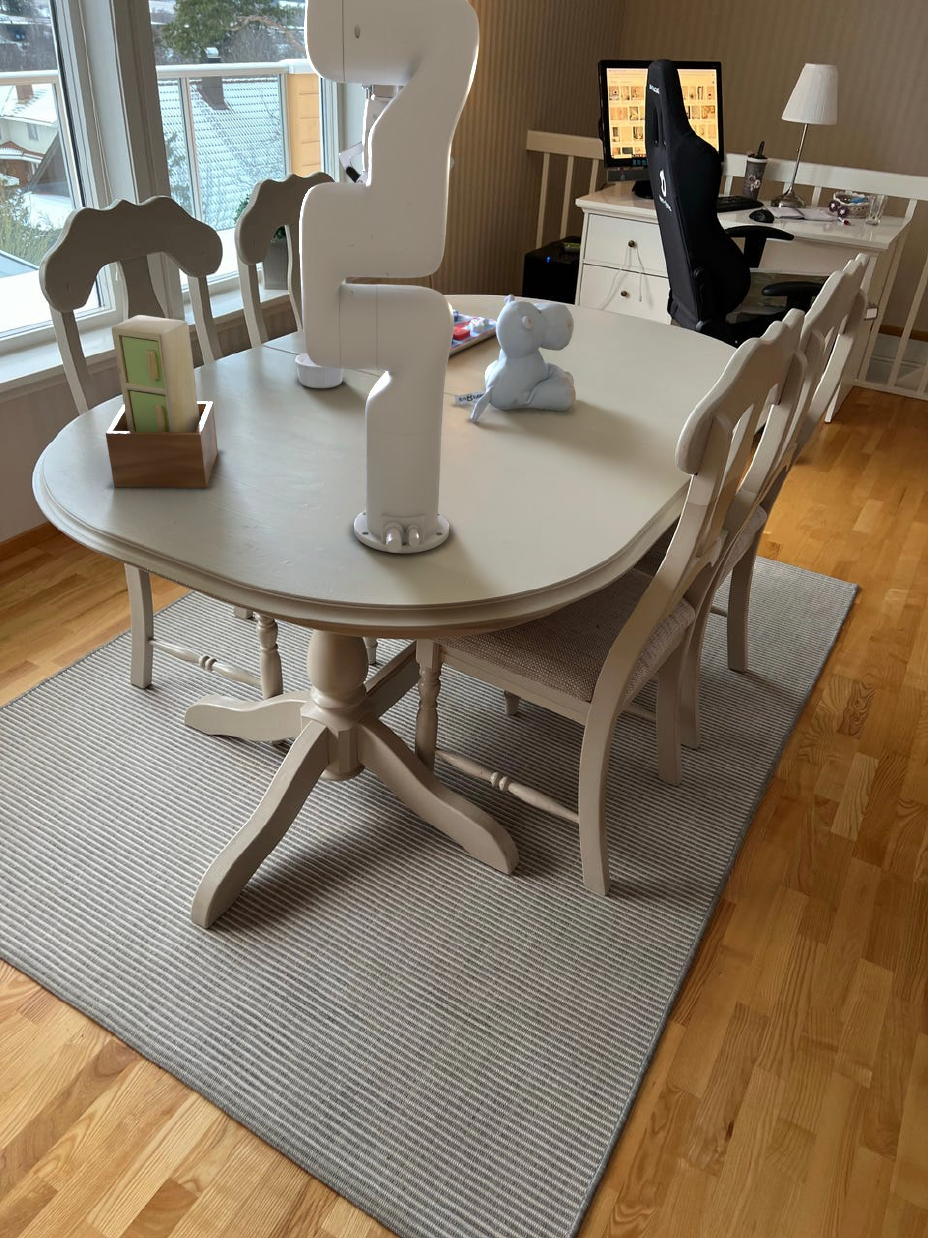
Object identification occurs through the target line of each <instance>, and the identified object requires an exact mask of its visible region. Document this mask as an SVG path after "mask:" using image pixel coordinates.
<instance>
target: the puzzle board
mask: <svg viewBox="0 0 928 1238" xmlns="http://www.w3.org/2000/svg"><path fill="white" fill-rule="evenodd" d="M453 314H454V331H453V338H452V343H451V348H450V353H449V357H451V356H453V355H455V354H457V353H459V352H461V351H463V350H465V349H468V348H470V347H471V346H474V345H476V344H478V343H481V342H482V341H484V340H486V339H488V338H491V337H493V336H495V335H497V334H496V324H497V320H495V319H490V318H485V317H482V316H480V317H478V316H474V315H469V314H464V313H459V311H458V310H457V309H453Z"/></svg>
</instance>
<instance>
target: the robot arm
mask: <svg viewBox="0 0 928 1238" xmlns="http://www.w3.org/2000/svg"><path fill="white" fill-rule="evenodd" d="M469 2H470V1H469V0H305V10H304V11H305V14H304V44H305V50H306V56H307V59H308V61H309V64H310V66H311V68H312V70H313V71H314V73H316V75H317V76H319V77H320V78H322V79H324V80H326V81H328V82H332V83H339V84H360V85H361V89H362V90H366V91H369V92H370V93H371V97H368V98H366V102H365V109H364V114H363V115H364V116H363V128H362V129H363V131H362V133H363V134H362V140H361V141H359V142H357V143H356V144H353V145H352V146H350V147H347V148H346V149H344V150H342V151H339V154H338V159H339V161H340V163H341V165H342V167H343V169H344V171H345V173H346V175H347V177H349V178H350V180H351V181H353V182H348V181H347V182H343V181H341V182H340V181H327V182H321V183H318V184H316V185H313V186H312V187H311V188H310V189H308V191H307V192H306V194H305V196H304V198H303V200H302V205H301V209H300V217H299V262H300V263H299V264H300V289H301V291H300V293H301V315H302V316H301V320H302V331H303V332H302V334H303V343H304V348H305V351H306V352H305V353H307V354H308V356H309V358H310V360H311V361H312V362H313V363H315V364H316V365H318V366H321V367H325V368H335V369H343V370H369V371H370V370H371V371H372V370H374V371H375V370H376V371H381V372H385V373H383V375H382V376H381V377H380V378H379V379H378V381H377V382H375V384H374V386H373V387H372V389H371V390H370V393H369V394H368V397H367V400H366V403H365V411H364V413H365V414H364V416H365V417H364V419H365V420H364V424H365V425H364V426H365V427H364V429H365V430H364V433H365V434H364V435H365V439H364V440H365V441H364V442H365V443H364V446H365V449H364V450H365V451H364V452H365V454H364V455H365V456H364V457H365V458H364V459H365V463H364V465H365V510H362V511H361V512H360V513H359V514H358V515H357V516H356V517H355V519H354V520H353V521H354V522H353V531H354V535H355V537H356V538H357V539H358V540H359V541H360V542H361V543H362V544H364V545H366V546H367V547H370V548H371V549H374V550H377V551H381V552H386V553H392V554H413V553H414V554H415V553H421V552H425V551H429V550H432V549H435V548H437V547H438V546H440V545H442V544H443V543H444V542H446V540H447V539H448V538H449V535H450V523H449V520H448V519H447V518H446V516H444V515H443V514H442V513H441V512H440V511H439V502H440V501H439V499H440V480H441V479H440V478H441V477H440V476H441V475H440V474H441V455H442V453H441V452H442V432H443V431H442V430H443V412H444V411H443V410H444V395H445V385H446V384H445V383H446V375H447V368H448V363H449V358H450V356H449V353H450V348H451V343H452V338H453V331H454V314H453V310H454V309H453V307H452V304H451V302H450V301H449V299H448V298H447V297H446V296H445V295H444V294H442V293H441V292H439V291H437V290H435V289H433V288H430V287H424V286H421V285H411V284H410V285H409V284H408V285H407V284H384V283H383V284H381V283H379V284H378V283H377V284H371V283H370V284H369V283H367V284H365V283H343V282H344V281H345V280H346V279H348V278H350V277H353V278H354V277H355V278H356V277H357V278H381V279H382V278H383V279H414V278H415V279H416V278H423V277H428V276H431V275H433V274H434V273H435V272H437V271H438V269H439V268H440V266H441V264H442V262H443V258H444V253H445V246H446V238H447V236H446V235H447V224H448V223H447V222H448V205H449V203H448V202H449V184H450V173H451V172H452V171H451V170H452V168H453V167H454V165H455V161H456V160H455V159H454V157H452V156H451V152H452V145H453V140H454V137H455V132H456V129H457V127H458V123H459V120H460V118H461V116H462V112H463V110H464V107H465V105H466V102H467V99H468V97H469V93H470V91H471V87H472V83H473V81H474V77H475V74H476V68H477V62H478V57H479V49H480V48H479V47H480V22H479V18H478V13H477V12H476V10H475V8H474V7H473V6H472V4H471V3H469ZM361 153H362V165H363V169H362V170H361V171H360V173H359V172H358V171H357V170H356V169H355V168H354V166H353V165H352V162H351V159H352V158H354V157H355V156H357V155H360V154H361Z"/></svg>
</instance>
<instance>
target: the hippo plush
mask: <svg viewBox="0 0 928 1238" xmlns="http://www.w3.org/2000/svg"><path fill="white" fill-rule="evenodd" d="M504 304H505V306H503V308H502V309H501V311H500V313H499V315H498V317H497V320H496V321H497V324H496V334H495V335H496V338H497V341H498V344H499V346H500V351H499V357H498V359H496V360H494V361H493V362H492V363H490V364H489V365H488V366H487V368H486V369H485V372H484V383H485V391H475V392H469V393H465V394H461V395H457V394H456V395H454V400H455V406H464V405H465V406H466V405H470V404H475V405H474V408H473V410H472V413H471V415H470V417H469V420H470V421H471V422H476V421H477V420H478V419H479V418H480V417H481V415H482V414H483V413H484V411H485V410H486V408H487V407H488V405H489V404H490V406H492V407H494V408H495V409H499V410H502V411H509V410H516V409H534V410H548V411H553V412H562V413H563V412H564V413H565V412H570V411H571V410H572V409H573V407H574V406H575V404H576V401H577V391H576V388H575V379H574V376H573V375H572V373H571V372H569V371H567V370H564V369H563V368H562V367H560V366H559V365H558V364H555V363H553V362H547V361H545V360H544V357H543V355H542V353H541V352H540V350H539V349H540V348H541V349H545V350H549V351H555V352H556V351H557V352H560V351H562V350H564V349H565V348H566V347H568V345H570V342H571V340H572V338H573V334H574V329H575V321H574V317H573V314H572V312H571V310H569V308H568V307H567V305H565V304H562V303H557V302H537V303H532V302H529V301H525V300H524V301H523V300H516V297H515V295H514V294H509V295H507V296H506V297H505V298H504Z"/></svg>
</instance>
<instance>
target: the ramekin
mask: <svg viewBox="0 0 928 1238" xmlns="http://www.w3.org/2000/svg"><path fill="white" fill-rule="evenodd" d="M294 361H295V362H294V363H295V364H296V369H297V375H298V381H299V383H300V384H301V385H302V386H305V387H307V388H311V389H329V388H334V387H338V386H339V385H340V384H342V382H343V379H344V369H335V368H325V367H321V366H318V365H316V364H315V363H313V362H312V361H311V360H310V358H309V356H308V354H307V352H304V353H300V354H298V355H296V357H295V358H294Z"/></svg>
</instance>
